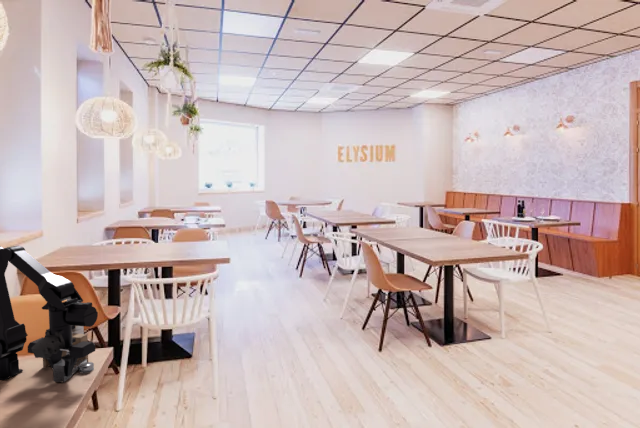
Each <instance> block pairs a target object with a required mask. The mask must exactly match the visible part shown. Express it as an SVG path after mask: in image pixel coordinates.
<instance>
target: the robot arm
mask: <svg viewBox="0 0 640 428" xmlns="http://www.w3.org/2000/svg"><path fill="white" fill-rule="evenodd" d="M9 263H10V264H11V265H12V266H14V267H15V268H16V269H17V270H18V271H19V272H21V273H22V275H24V276H25V277H27V279H29V280H30V281H31V282H33V283H34V284H35V285H36V286H37V289H38V292H39V295H40V296H41V297H42V299H44V301H45V302H46V303H45V304H44V305H43V306H41V309H42V310H45V311H47V310H48V324H49V325H48V326H49V328H47V329H46V330H45V333H44V337H39V338H38V339H35V340H32V341H30V342H29V343H28V345H27V353H28V354H33V356H34V358H37V359H38V358H41V359H43V358H44V359H47V360H48V362H49V363H50V367H51V369H52V371H53V365H54V364H56V363H57V362H59V361H60V360H61V358H62V359H63V360H64V361H65V372H66V376H67V377H68V376H70V374H71V372H72V370H73V368H74V365H75V363H76V361H77V359H78V358H83V357H85V356H87V355H88V356H89V355H90V354H92V353H94V352H96V343H95V342H94V341H88V342H86V341H82V342H80V343H78V344H76V345H72V343H74V342H76V338H72V329H74V328H75V326H84V327H87V328H90V327H93V326H94V325H95V323H96V322H97V320H98V316H99V314H98V310H97V308H96V307H94V306H93V302H90V301H89V302H84V299H83V298H82V295H80V293H79V292H78V290H77V289H76V288H75V285H74V283H73V282H72V281H71V280H69V279H67V278H65V277H64V276H62V275H57V274H54V273H53V272H52V271H50V270H49V269H47V268H46V267H45V266H44V265H43V264H41V262H39V261H38V260H37V259H36V258H34V257H33V256H32V255H31V254H30V253H28V252H27V251H26V249H25V248H24V247H23V246H21V245H15V246H14V245H13V246H7V247H5V248H4V247H3V246H1V245H0V381H1V380H2V381H4V380H7V379H10V378H12V377H14V376H16V375H17V374H21V373H22V372H23V371H24V370H23V369H22V368H20V363H19V357H18V353H19V352H22V351H23V349H24V346H25V344H26V342H27V340H28V339H27V337H28V336H29V335H28V333H27V331H26V325H25V323H19V322H18V321H17V320H16V318H15V315H14V311H13V310H14V309H13V306H12V301H11V295H10V292H9V289H8V283H7V280H6V271H7V268H8V265H9ZM69 298H71V299H70V300H68V301H67V299H69ZM62 351H67V353H66V355H65V356H63V357H62Z"/></svg>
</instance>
